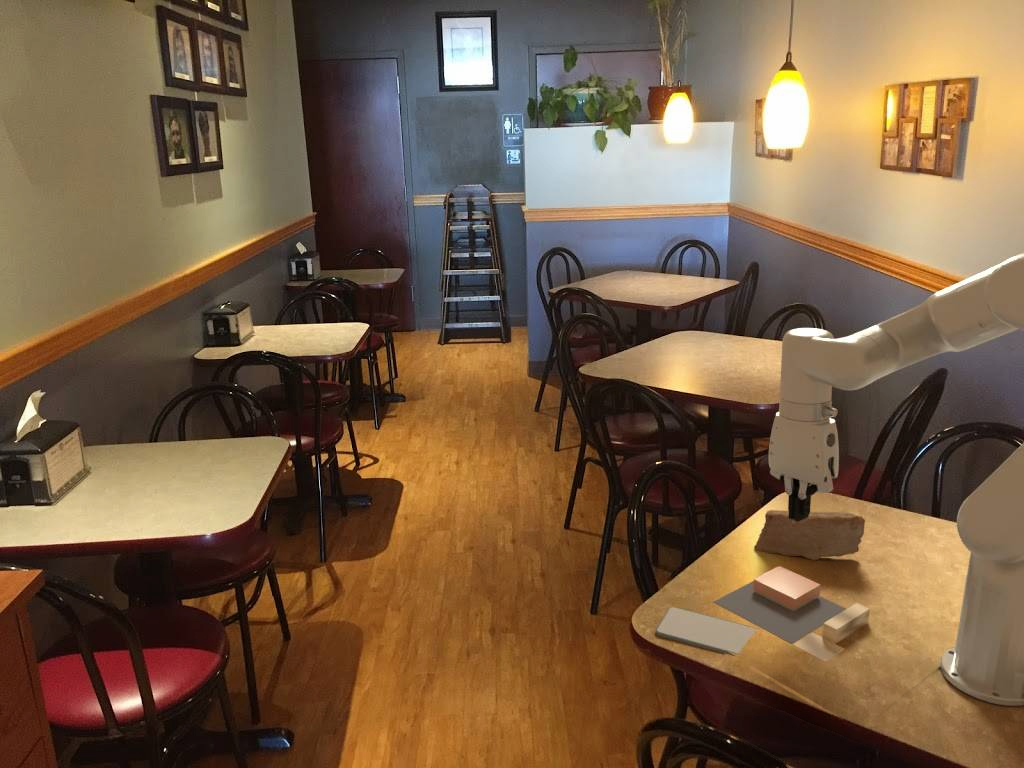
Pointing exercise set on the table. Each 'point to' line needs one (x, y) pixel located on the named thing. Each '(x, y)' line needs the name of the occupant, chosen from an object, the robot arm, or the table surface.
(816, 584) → the tile
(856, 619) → the turner
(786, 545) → the stone
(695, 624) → the smartphone
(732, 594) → the mat
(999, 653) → the robot arm
